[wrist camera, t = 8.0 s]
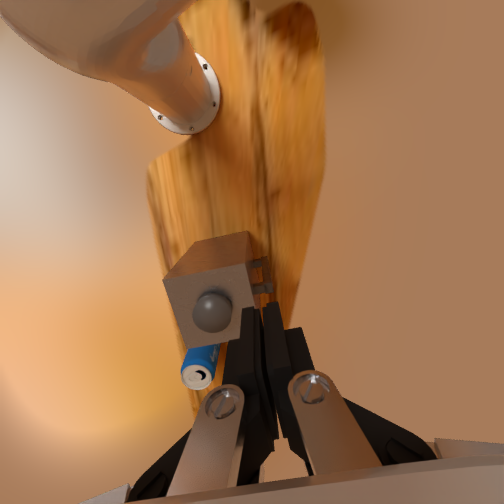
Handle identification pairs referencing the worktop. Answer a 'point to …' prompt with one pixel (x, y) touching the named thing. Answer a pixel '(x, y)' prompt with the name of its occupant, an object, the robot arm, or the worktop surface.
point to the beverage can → (200, 366)
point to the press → (216, 284)
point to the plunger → (212, 313)
